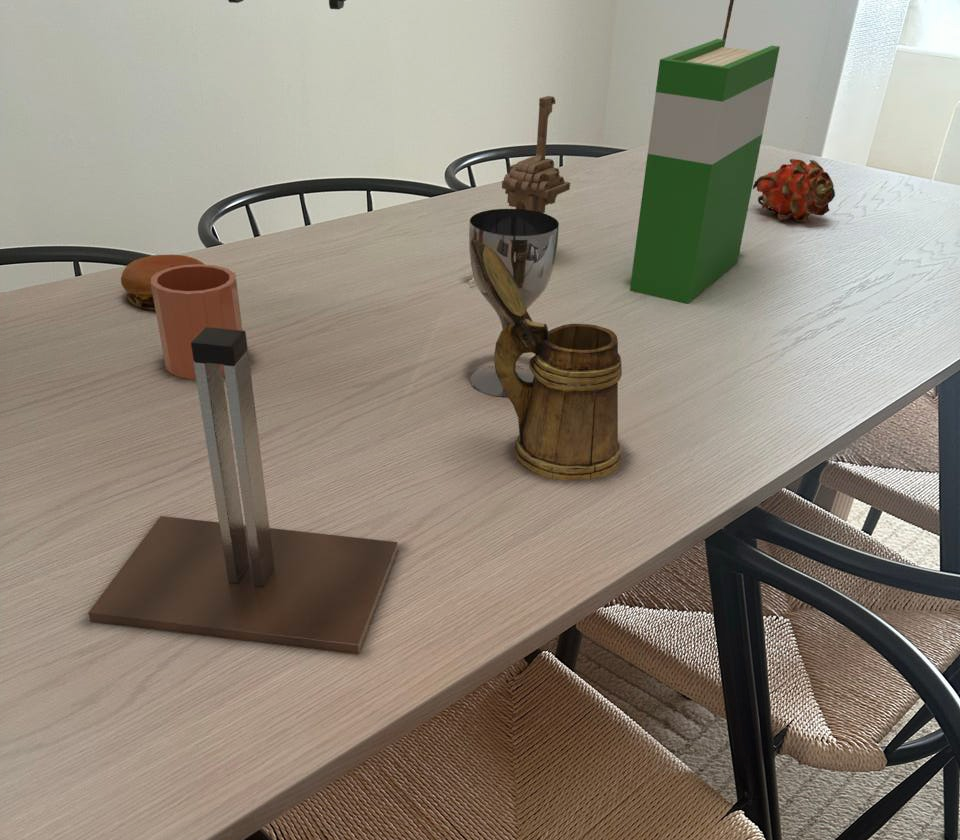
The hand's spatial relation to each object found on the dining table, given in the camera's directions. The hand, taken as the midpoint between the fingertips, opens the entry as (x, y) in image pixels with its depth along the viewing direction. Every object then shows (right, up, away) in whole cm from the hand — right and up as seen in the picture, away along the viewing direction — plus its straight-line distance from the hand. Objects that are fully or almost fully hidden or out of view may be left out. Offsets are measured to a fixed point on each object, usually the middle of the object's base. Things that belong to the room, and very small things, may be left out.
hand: (286, 5), depth 81 cm
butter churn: (+50, +21, +76) cm, 94 cm away
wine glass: (+18, -27, +16) cm, 36 cm away
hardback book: (+41, -7, +41) cm, 59 cm away
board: (0, -49, -12) cm, 51 cm away
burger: (-18, -15, +29) cm, 37 cm away
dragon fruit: (+60, +8, +61) cm, 86 cm away
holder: (-11, -26, +15) cm, 32 cm away
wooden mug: (+21, -37, +4) cm, 43 cm away
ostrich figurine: (+19, -7, +41) cm, 46 cm away
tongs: (0, -48, -13) cm, 50 cm away
